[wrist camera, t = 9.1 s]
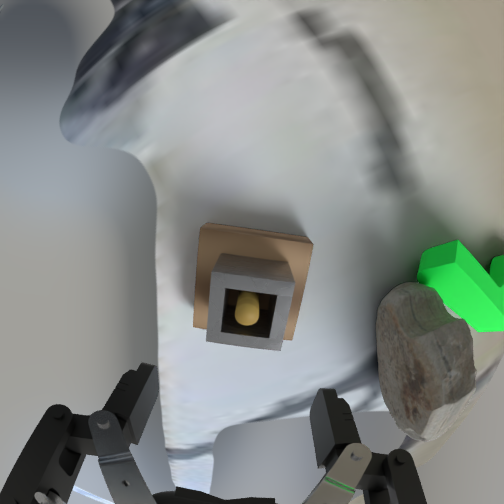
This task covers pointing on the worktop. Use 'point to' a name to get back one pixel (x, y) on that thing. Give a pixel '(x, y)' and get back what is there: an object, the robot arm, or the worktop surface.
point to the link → (255, 280)
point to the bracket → (466, 284)
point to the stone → (423, 361)
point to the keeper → (252, 245)
